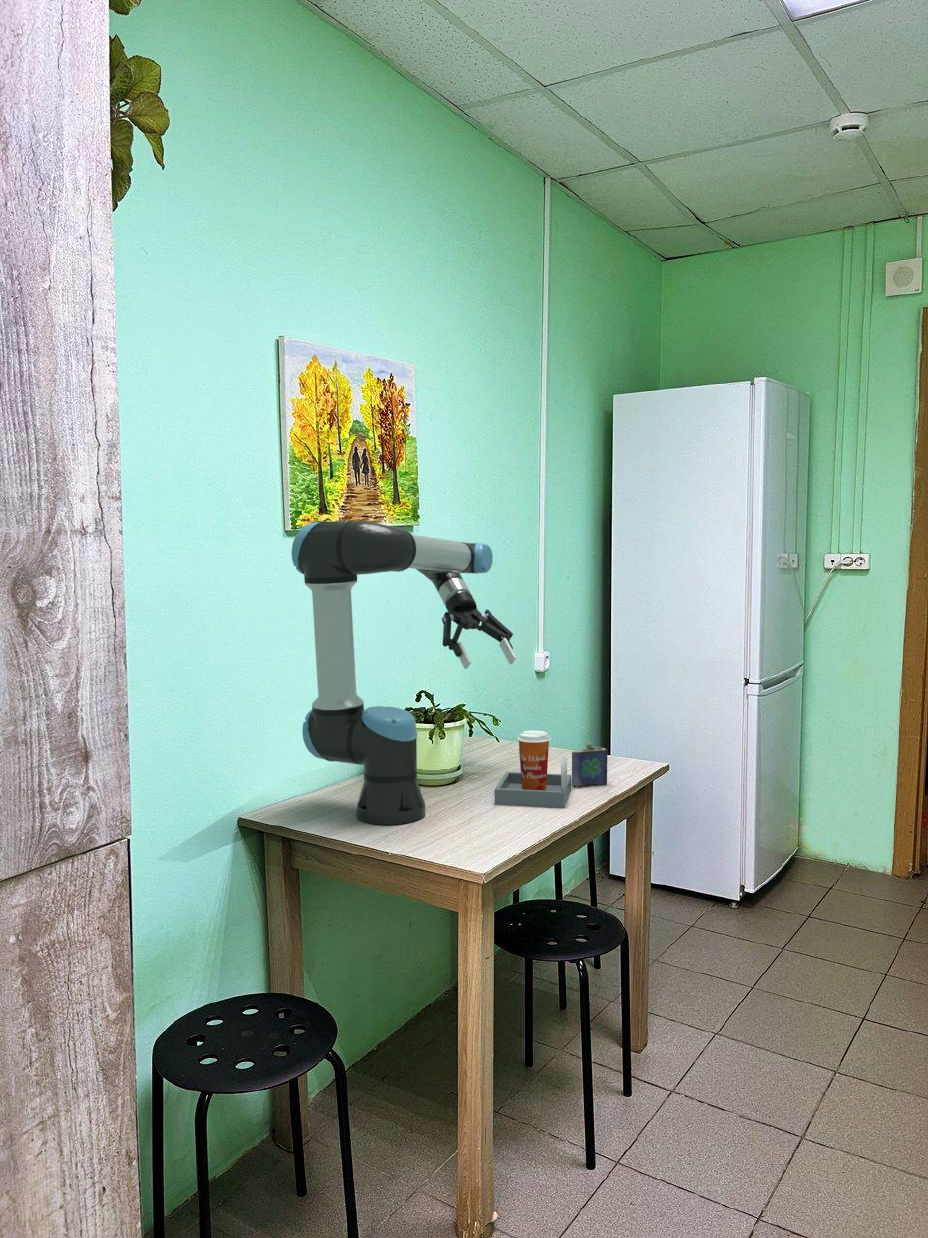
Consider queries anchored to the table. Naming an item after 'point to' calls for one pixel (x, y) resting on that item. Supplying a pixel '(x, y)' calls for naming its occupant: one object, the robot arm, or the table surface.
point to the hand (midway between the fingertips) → (491, 663)
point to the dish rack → (554, 795)
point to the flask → (589, 766)
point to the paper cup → (534, 759)
